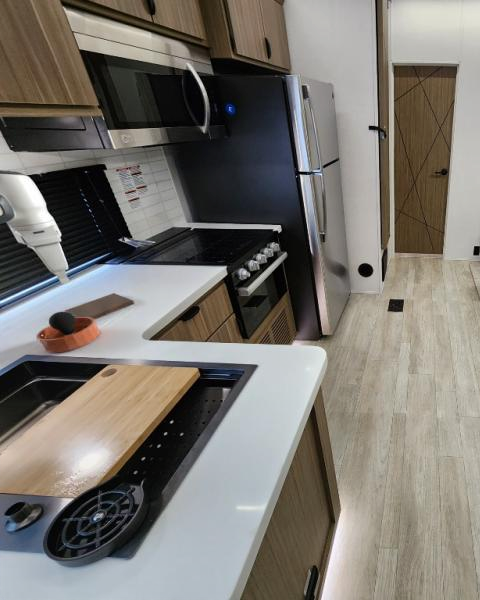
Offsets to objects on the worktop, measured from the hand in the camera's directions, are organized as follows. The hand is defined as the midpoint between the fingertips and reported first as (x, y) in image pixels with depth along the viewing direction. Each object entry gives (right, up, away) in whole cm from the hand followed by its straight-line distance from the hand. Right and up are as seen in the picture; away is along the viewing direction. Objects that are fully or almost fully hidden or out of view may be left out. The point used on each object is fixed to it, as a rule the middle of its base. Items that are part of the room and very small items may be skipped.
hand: (61, 278), depth 97 cm
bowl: (-6, -20, +9) cm, 22 cm away
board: (-14, -10, +28) cm, 32 cm away
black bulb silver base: (-6, -19, +9) cm, 22 cm away
